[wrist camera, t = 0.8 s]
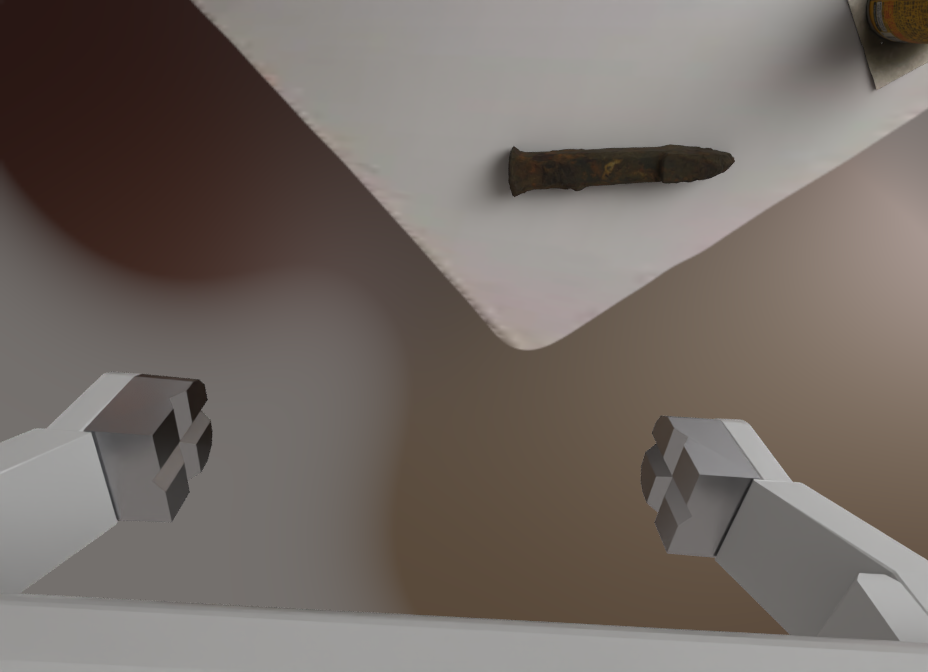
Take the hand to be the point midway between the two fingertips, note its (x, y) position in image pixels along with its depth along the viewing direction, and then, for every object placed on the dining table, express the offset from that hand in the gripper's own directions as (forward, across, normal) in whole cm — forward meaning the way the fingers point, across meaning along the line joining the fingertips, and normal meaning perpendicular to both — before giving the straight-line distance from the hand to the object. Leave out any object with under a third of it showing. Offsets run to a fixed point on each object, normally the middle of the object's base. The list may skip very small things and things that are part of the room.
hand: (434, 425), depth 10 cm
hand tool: (+43, -15, +2) cm, 46 cm away
